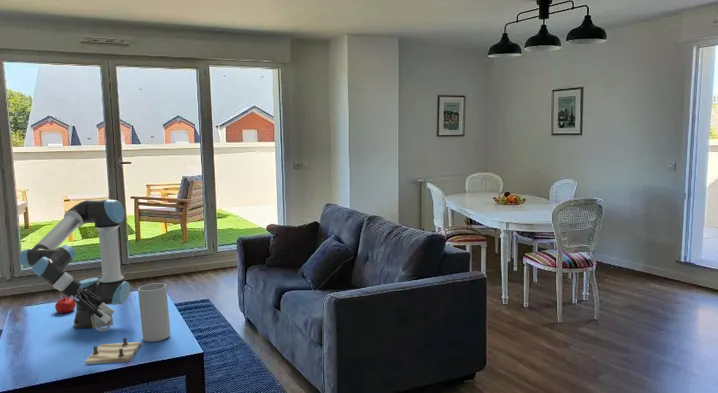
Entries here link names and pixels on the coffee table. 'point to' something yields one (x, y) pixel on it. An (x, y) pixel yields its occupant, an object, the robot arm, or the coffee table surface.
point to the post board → (113, 352)
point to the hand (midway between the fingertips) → (110, 317)
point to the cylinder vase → (154, 312)
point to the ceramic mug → (99, 323)
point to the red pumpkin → (65, 305)
